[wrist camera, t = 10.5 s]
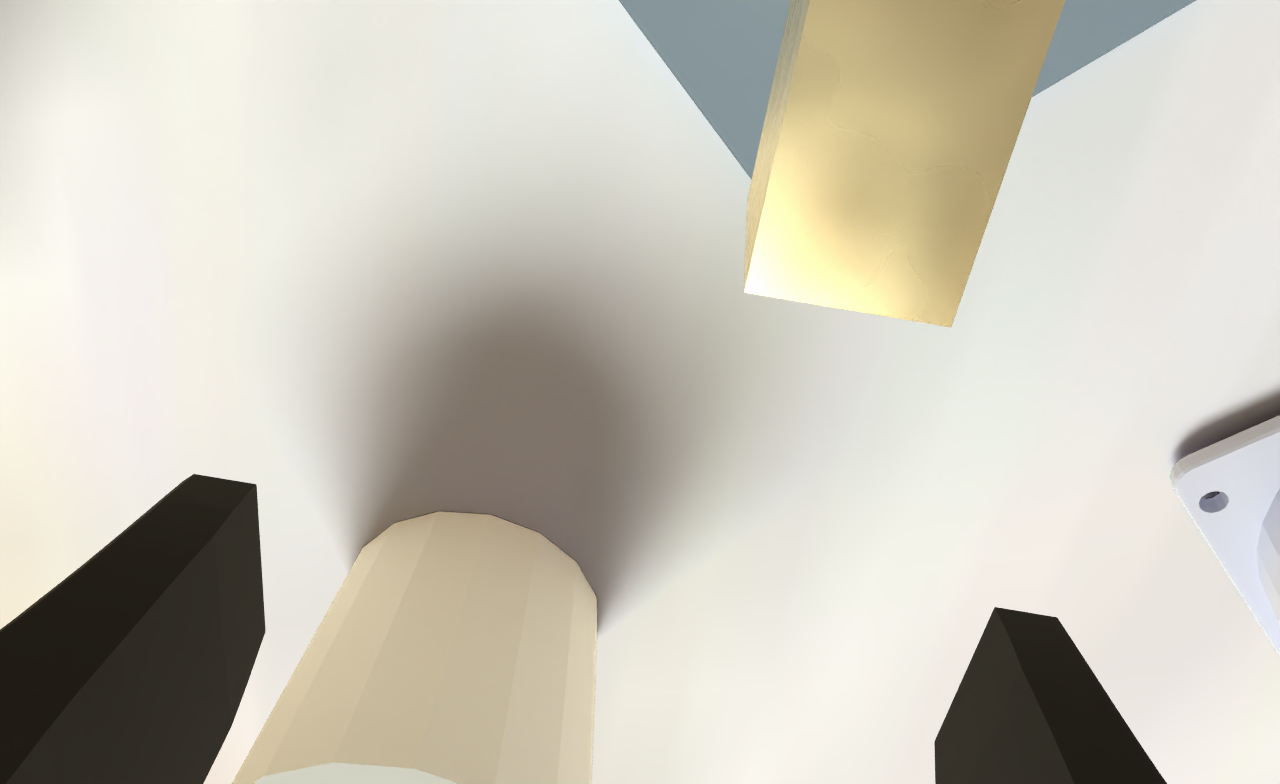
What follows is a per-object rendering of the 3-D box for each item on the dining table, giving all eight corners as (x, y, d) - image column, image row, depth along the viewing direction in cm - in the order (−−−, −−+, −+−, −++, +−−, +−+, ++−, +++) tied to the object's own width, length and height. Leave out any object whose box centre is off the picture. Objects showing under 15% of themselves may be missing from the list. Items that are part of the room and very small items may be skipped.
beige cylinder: (656, 527, 25) (622, 818, 19) (596, 733, 29) (554, 1023, 23) (330, 457, 25) (199, 732, 19) (315, 675, 29) (203, 955, 23)
